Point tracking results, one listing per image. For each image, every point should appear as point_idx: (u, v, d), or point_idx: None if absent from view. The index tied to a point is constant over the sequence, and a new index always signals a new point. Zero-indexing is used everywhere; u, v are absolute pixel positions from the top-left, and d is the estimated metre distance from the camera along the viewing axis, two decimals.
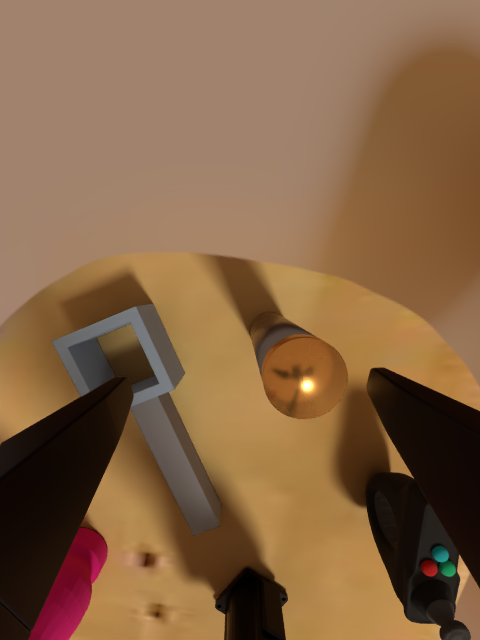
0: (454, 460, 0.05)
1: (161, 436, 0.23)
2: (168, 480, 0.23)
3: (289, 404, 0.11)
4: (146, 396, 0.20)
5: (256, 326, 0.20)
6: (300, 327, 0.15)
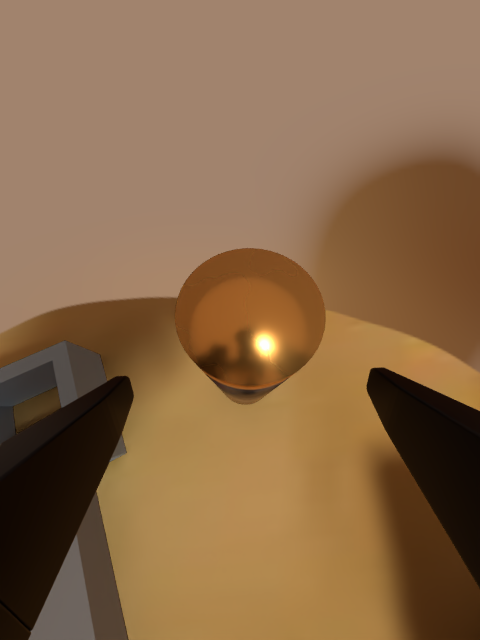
0: (454, 460, 0.05)
1: (55, 585, 0.12)
2: None
3: (225, 356, 0.06)
4: None
5: None
6: None
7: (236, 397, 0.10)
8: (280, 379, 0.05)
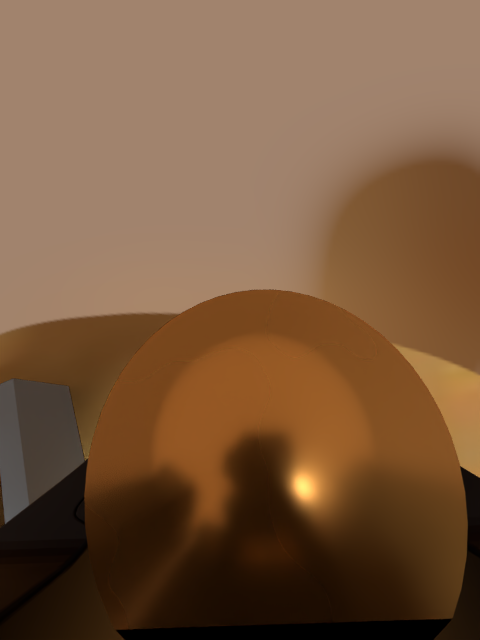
0: None
1: None
2: None
3: (207, 617, 0.02)
4: None
5: None
6: None
7: None
8: None
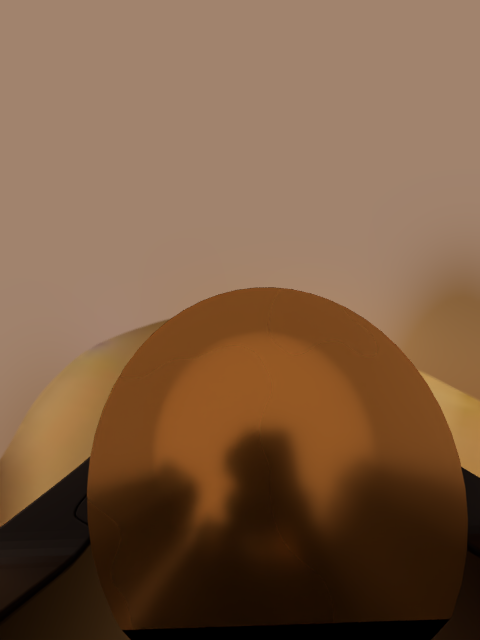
0: None
1: None
2: None
3: (209, 611, 0.02)
4: None
5: None
6: None
7: None
8: None
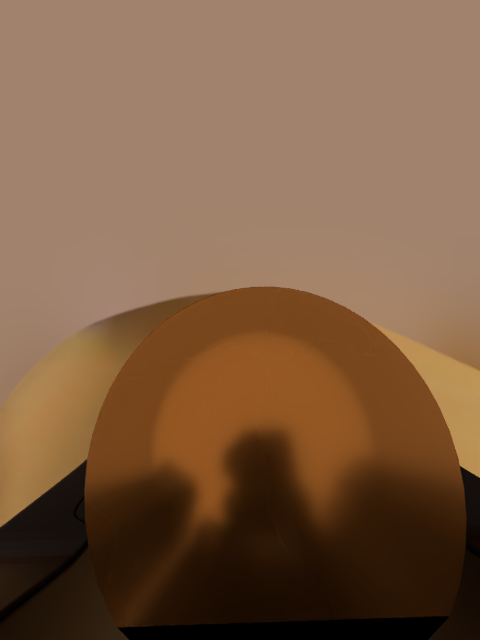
0: None
1: None
2: None
3: (207, 611, 0.02)
4: None
5: None
6: None
7: None
8: None
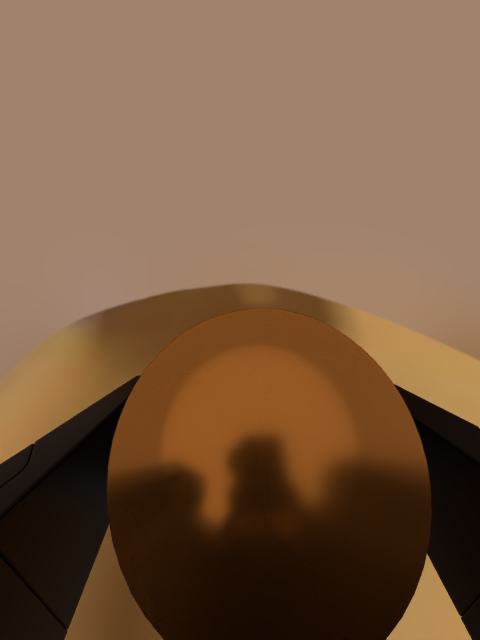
0: None
1: None
2: None
3: (212, 590, 0.02)
4: None
5: None
6: None
7: None
8: None
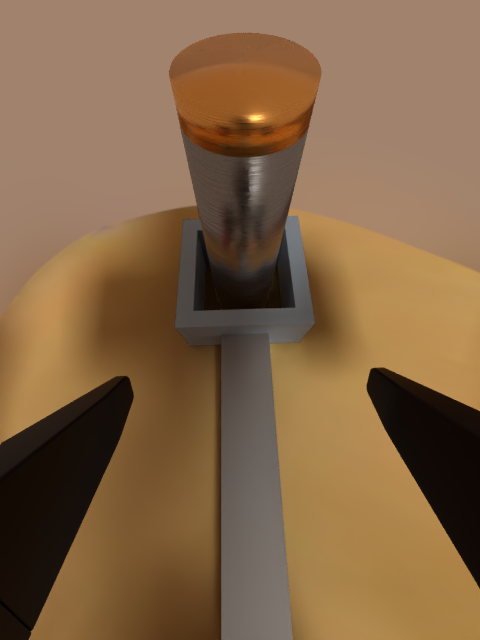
0: (454, 460, 0.05)
1: (249, 408, 0.13)
2: (226, 511, 0.11)
3: (219, 96, 0.06)
4: (269, 318, 0.13)
5: None
6: None
7: (232, 256, 0.10)
8: (275, 111, 0.05)
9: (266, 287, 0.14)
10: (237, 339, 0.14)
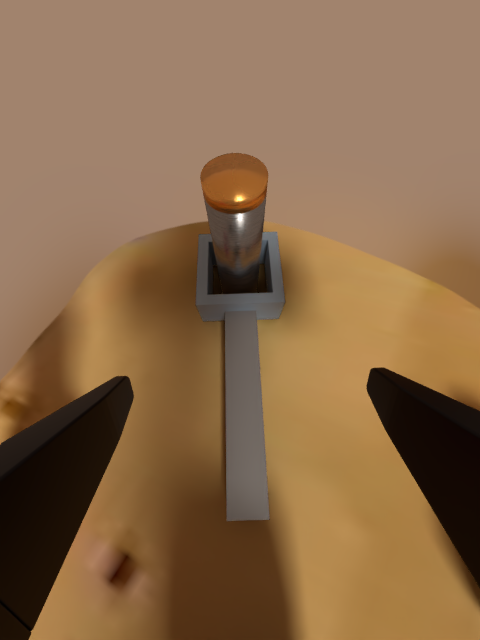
0: (454, 460, 0.05)
1: (243, 356, 0.20)
2: (229, 413, 0.18)
3: (223, 191, 0.13)
4: (256, 299, 0.20)
5: None
6: None
7: (231, 259, 0.18)
8: (246, 198, 0.13)
9: (254, 279, 0.22)
10: (235, 314, 0.22)
